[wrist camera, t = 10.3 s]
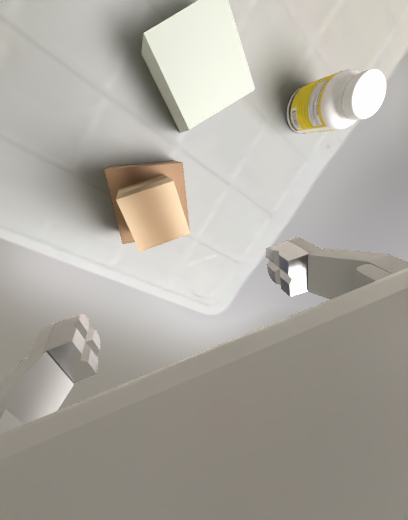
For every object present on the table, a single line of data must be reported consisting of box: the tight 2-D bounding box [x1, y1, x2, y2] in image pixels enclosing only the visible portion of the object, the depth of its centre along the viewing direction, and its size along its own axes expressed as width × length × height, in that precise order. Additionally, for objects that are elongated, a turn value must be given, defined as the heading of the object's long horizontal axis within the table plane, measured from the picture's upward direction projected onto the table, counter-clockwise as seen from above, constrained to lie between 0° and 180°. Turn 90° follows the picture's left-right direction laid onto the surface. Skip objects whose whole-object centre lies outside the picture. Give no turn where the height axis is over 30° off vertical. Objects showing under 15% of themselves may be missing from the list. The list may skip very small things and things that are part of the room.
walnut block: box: [104, 161, 190, 244], centre depth 28 cm, size 8×8×5 cm
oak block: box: [116, 174, 190, 252], centre depth 23 cm, size 5×5×6 cm
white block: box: [141, 0, 255, 133], centre depth 24 cm, size 8×8×5 cm
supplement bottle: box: [287, 69, 386, 133], centre depth 26 cm, size 5×5×10 cm
